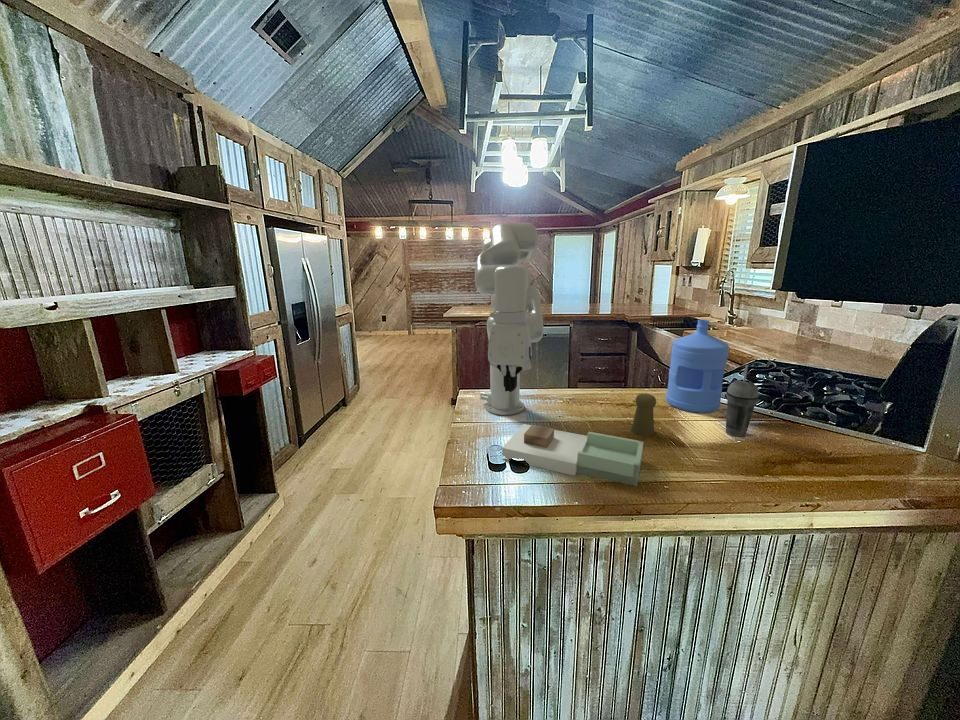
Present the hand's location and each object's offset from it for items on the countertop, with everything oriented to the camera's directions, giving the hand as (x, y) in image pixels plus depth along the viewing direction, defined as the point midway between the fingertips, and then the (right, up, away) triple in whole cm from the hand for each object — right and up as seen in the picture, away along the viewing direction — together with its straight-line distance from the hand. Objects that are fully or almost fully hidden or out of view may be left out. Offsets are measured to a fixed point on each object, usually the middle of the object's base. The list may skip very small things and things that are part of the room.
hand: (510, 389), depth 96 cm
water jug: (+62, -7, +29) cm, 69 cm away
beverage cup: (+63, -13, +8) cm, 64 cm away
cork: (+38, -13, +10) cm, 41 cm away
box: (+23, -18, -7) cm, 30 cm away
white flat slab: (+9, -16, 0) cm, 18 cm away
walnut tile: (+7, -13, 0) cm, 15 cm away
